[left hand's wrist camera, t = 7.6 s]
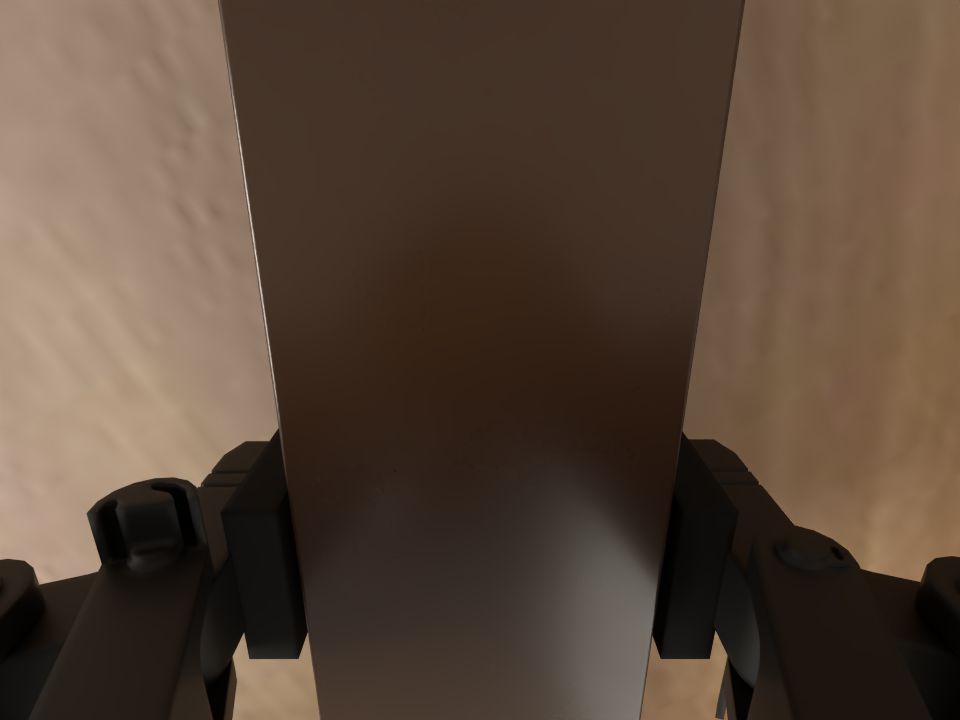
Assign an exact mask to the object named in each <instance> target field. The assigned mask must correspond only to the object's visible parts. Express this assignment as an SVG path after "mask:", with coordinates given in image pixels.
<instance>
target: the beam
mask: <svg viewBox="0 0 960 720" xmlns="http://www.w3.org/2000/svg"><path fill="white" fill-rule="evenodd" d="M744 3H745V0H218V4H219V11H220V18H221V25H222V32H223V39H224V46H225V53H226V60H227V67H228V74H229V81H230V88H231V95H232V102H233V109H234V116H235V123H236V130H237V137H238V144H239V151H240V158H241V165H242V172H243V179H244V186H245V193H246V200H247V207H248V214H249V221H250V228H251V236H252V243H253V250H254V257H255V264H256V271H257V278H258V285H259V292H260V299H261V306H262V313H263V320H264V327H265V334H266V341H267V348H268V355H269V362H270V369H271V376H272V383H273V390H274V397H275V404H276V411H277V418H278V425H279V432H280V439H281V446H282V453H283V460H284V467H285V474H286V481H287V488H288V496H289V503H290V510H291V517H292V524H293V531H294V538H295V545H296V552H297V559H298V566H299V573H300V580H301V587H302V594H303V601H304V608H305V615H306V622H307V629H308V636H309V643H310V650H311V657H312V664H313V671H314V678H315V685H316V692H317V699H318V706H319V713H320V720H640V717H641V710H642V704H643V697H644V690H645V683H646V676H647V669H648V662H649V655H650V649H651V642H652V635H653V628H654V621H655V614H656V607H657V601H658V594H659V587H660V580H661V573H662V566H663V559H664V552H665V546H666V539H667V532H668V525H669V518H670V511H671V504H672V498H673V491H674V484H675V477H676V470H677V463H678V456H679V449H680V443H681V436H682V429H683V422H684V415H685V408H686V401H687V395H688V388H689V381H690V374H691V367H692V360H693V353H694V346H695V340H696V333H697V326H698V319H699V312H700V305H701V298H702V292H703V285H704V278H705V271H706V264H707V257H708V250H709V243H710V237H711V230H712V223H713V216H714V209H715V202H716V195H717V189H718V182H719V175H720V168H721V161H722V154H723V147H724V140H725V134H726V127H727V120H728V113H729V106H730V99H731V92H732V86H733V79H734V72H735V65H736V58H737V51H738V44H739V37H740V31H741V24H742V17H743V10H744Z"/></svg>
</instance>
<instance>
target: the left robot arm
mask: <svg viewBox="0 0 960 720" xmlns="http://www.w3.org/2000/svg"><path fill="white" fill-rule="evenodd" d="M87 516H88V520H89V523H90V526H91V530H92V533H93V536H94V540H95V543H96V546H97V550H98V553H99V556H100V559H101V563H102V565H101V567H100V569H99V572H95V573H91V574H88V575H83V576H78V577H74V578H69V579H64V580H60V581H55V582H50V583H45V584H41V585H39V583H38V580H37V577H36V574H35V572H34V569H33V567H32V566H30V565H29V564H28V563H26V562H25V561H21V560H13V559H4V560H0V720H232V717H233V709H234V700H235V692H236V684H237V679H236V672H235V666H234V661H233V657H232V656H233V654H234V652H235V650H236V648H237V646H238V644H239V642H240V639H241V637H242V635H243V633H244V634H245V639H246V644H247V649H248V654H249V659H299V656H300V653H301V650H302V647H303V644H304V641H305V639H306V636H307V633H308V629H307V622H306V615H305V608H304V601H303V594H302V587H301V580H300V573H299V566H298V559H297V552H296V545H295V538H294V531H293V524H292V517H291V510H290V503H289V496H288V488H287V481H286V474H285V467H284V460H283V453H282V446H281V439H280V432H279V428H278V430H277V431H276V433H275V434H274V436H273V437H272V438H271V440H270V441H246V442H244V443H242V444H241V445H239V446H238V447H236V448H235V449H233V450H231V451H230V452H228V453H227V454H225V455H224V456H223V457H222V458H221V460H220V461H219V462H218V463H217V465H216V466H215V467H214V468H213V470H212V473H211V474H208V476H207V477H206V478H205V479H204V481H203V482H202V483H201V487H198V488H196V486H194V485H193V484H192V483H190V482H189V481H188V480H183V479H178V478H155V479H150V480H146V481H141V482H137V483H133V484H131V485H128V486H126V487H123V488H121V489H118V490H116V491H114V492H112V493H110V494H109V495H107V496H106V497H104V498H102V499H101V500H99V501H98V502H97V503H96V504H95V505H94V506H93V507H92V508H91V509H90V510H89V511H88V512H87ZM715 630H716V632H717V634H718V636H719V638H720V640H721V642H722V644H723V647H724V649H725V651H726V653H727V655H728V657H727V661H726V666H725V671H724V675H723V680H722V685H721V689H720V694H719V699H718V703H717V710H716V717H715V718H719V719H724V715H725V710H726V707H727V715H728V720H960V557H955V556H949V557H941V558H935V559H934V560H933V561H931V562H930V563H929V564H927V566H926V568H925V571H924V574H923V577H922V580H921V582H917V581H912V580H908V579H903V578H898V577H893V576H889V575H884V574H879V573H874V572H870V571H867V570H863V569H861V568H860V566H859V564H858V563H857V561H856V560H855V559H854V557H853V556H852V555H851V554H850V552H849V551H848V550H847V549H845V548H844V547H843V546H841V545H840V544H838V543H837V542H836V541H834V540H833V539H831V538H829V537H827V536H825V535H822V534H820V533H818V532H816V531H814V530H810V529H806V528H802V527H799V526H795V525H794V524H793V523H792V522H791V521H790V519H789V518H788V517H787V516H786V515H785V513H784V512H783V511H782V510H781V508H780V507H779V506H778V505H777V504H776V502H775V501H774V500H773V499H772V497H771V496H770V495H769V494H768V493H767V491H766V490H765V489H764V488H763V486H762V485H759V482H758V480H757V479H756V478H755V477H754V475H753V474H752V473H751V472H748V468H747V467H746V466H745V464H744V463H743V462H742V461H741V460H740V458H739V457H738V456H737V455H736V453H734V452H733V451H731V450H730V449H728V448H726V447H725V446H723V445H722V444H720V443H718V442H717V441H715V440H688V438H687V437H686V435H685V434H684V433H683V431H682V436H681V443H680V449H679V456H678V463H677V470H676V477H675V484H674V491H673V498H672V504H671V511H670V518H669V525H668V532H667V539H666V546H665V552H664V559H663V566H662V573H661V580H660V587H659V594H658V601H657V607H656V614H655V621H654V628H653V638H654V641H655V644H656V647H657V649H658V652H659V655H660V658H661V659H710V655H711V650H712V645H713V640H714V635H715Z"/></svg>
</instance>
